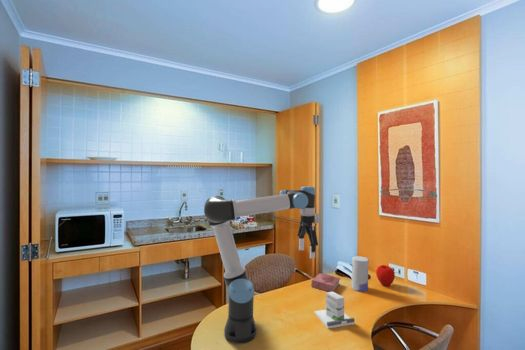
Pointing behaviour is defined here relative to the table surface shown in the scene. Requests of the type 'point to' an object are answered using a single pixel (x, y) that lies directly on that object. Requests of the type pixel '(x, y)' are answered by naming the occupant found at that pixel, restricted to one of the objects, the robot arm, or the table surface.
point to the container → (360, 273)
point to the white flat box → (331, 322)
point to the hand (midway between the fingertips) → (306, 253)
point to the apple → (385, 275)
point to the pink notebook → (325, 282)
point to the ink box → (334, 306)
